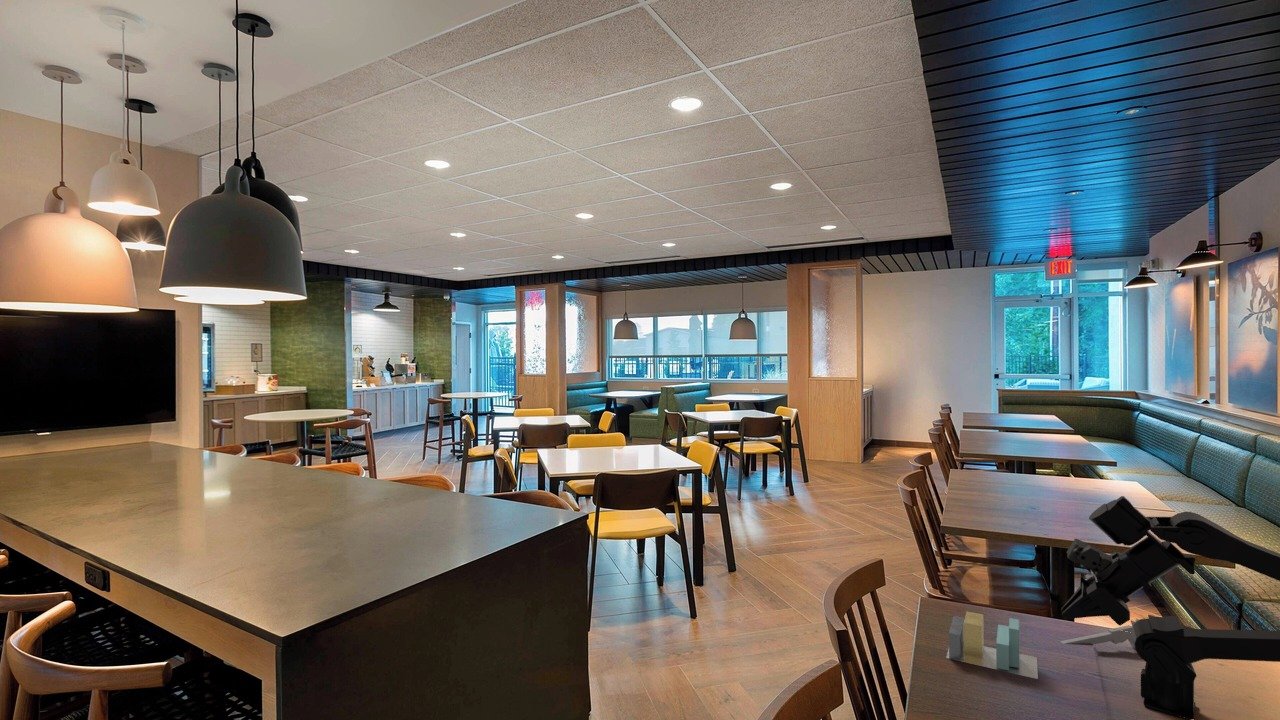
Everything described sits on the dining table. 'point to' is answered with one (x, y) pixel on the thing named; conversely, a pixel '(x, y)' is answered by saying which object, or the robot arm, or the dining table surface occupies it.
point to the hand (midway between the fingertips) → (1063, 614)
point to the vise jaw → (1008, 645)
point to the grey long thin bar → (1107, 636)
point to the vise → (986, 653)
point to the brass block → (973, 636)
